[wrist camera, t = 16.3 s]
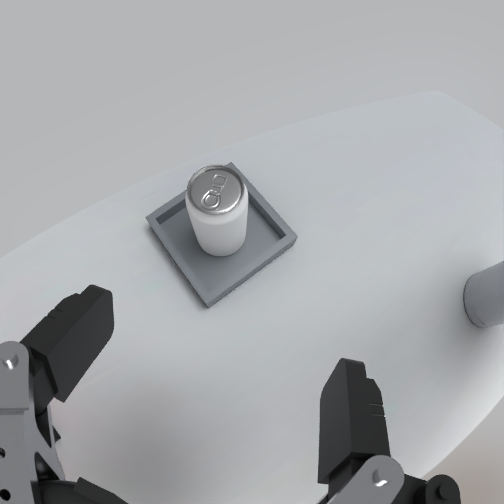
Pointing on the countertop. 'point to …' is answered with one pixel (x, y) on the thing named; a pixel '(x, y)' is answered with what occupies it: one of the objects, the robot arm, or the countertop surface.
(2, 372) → the robot arm
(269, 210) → the tray
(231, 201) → the can
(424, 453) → the countertop surface
